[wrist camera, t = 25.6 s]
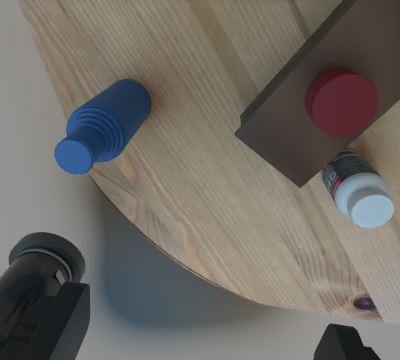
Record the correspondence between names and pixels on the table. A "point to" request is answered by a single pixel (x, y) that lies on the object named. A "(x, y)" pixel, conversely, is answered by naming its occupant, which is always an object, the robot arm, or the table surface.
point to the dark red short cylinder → (341, 102)
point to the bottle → (103, 126)
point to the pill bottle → (358, 189)
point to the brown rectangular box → (314, 66)
